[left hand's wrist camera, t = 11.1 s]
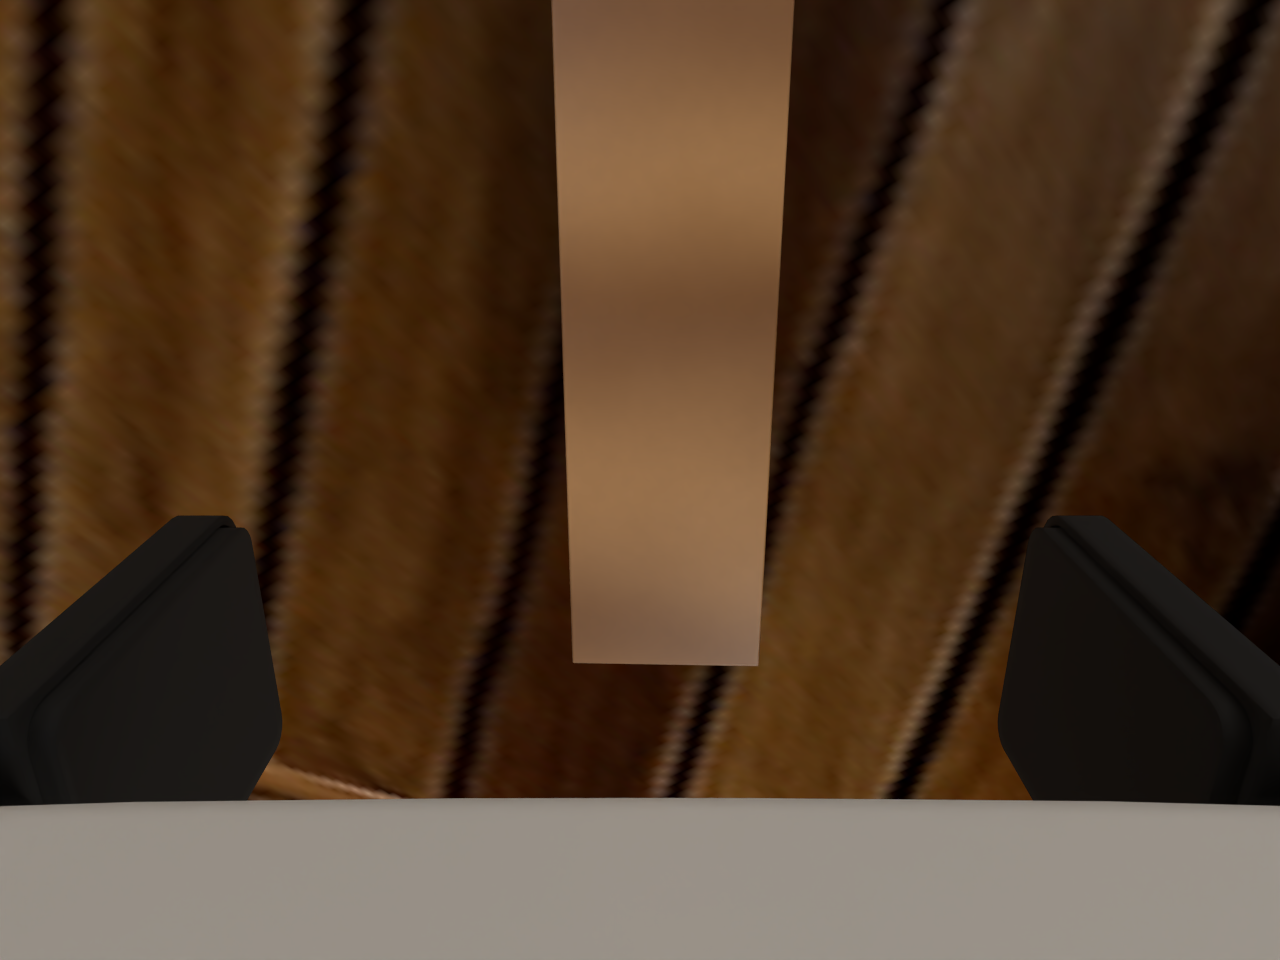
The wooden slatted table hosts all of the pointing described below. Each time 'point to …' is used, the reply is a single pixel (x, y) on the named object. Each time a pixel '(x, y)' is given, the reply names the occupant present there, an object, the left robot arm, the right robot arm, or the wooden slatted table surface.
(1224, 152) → the wooden slatted table surface
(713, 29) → the post
